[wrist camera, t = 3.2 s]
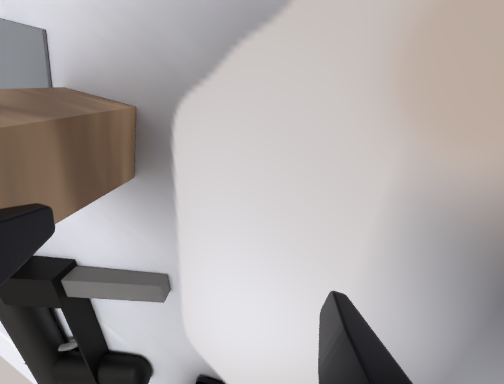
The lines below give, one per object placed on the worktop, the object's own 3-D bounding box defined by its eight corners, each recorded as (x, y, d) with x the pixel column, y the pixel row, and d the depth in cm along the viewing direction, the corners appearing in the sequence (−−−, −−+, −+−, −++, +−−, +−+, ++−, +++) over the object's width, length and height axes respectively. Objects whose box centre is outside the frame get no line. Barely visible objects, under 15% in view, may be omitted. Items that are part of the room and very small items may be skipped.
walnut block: (135, 106, 14) (-220, 161, 4) (134, 177, 16) (-118, 326, 6) (63, 87, 15) (-429, 98, 5) (70, 159, 17) (-270, 275, 7)
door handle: (138, 221, 15) (-92, 214, 17) (182, 409, 23) (24, 393, 25) (161, 198, 18) (-35, 194, 20) (193, 371, 26) (52, 359, 28)
